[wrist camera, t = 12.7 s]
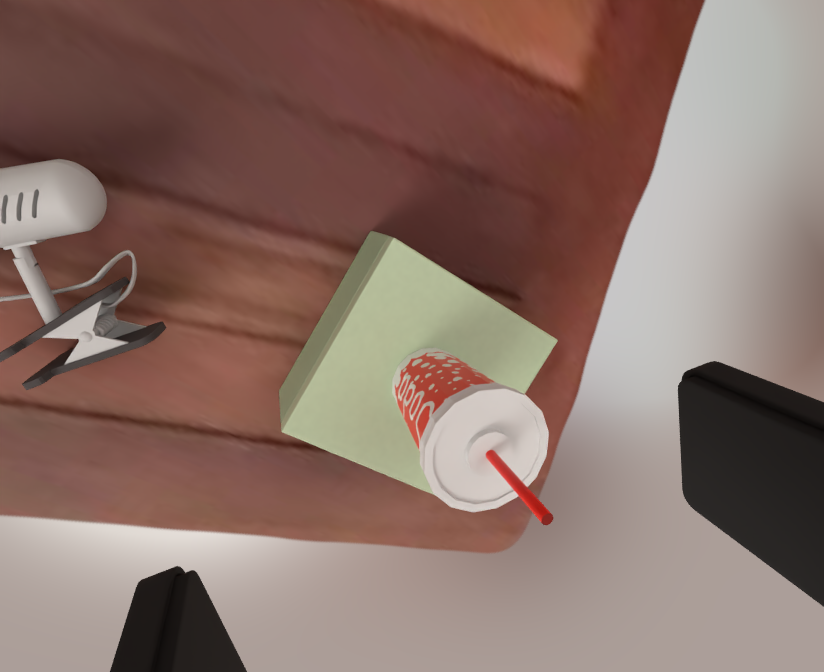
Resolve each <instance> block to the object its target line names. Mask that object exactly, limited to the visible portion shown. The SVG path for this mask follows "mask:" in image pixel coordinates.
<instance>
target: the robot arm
mask: <svg viewBox="0 0 824 672" xmlns="http://www.w3.org/2000/svg"><path fill="white" fill-rule="evenodd" d="M678 401H679V423H680V444H681V466H682V489H683V494H684V497H685V499H686V501H687V502H688V504H689V505H690V506H691V507H692V508H693V509H694V510H695V511H697V512H698V513H699V514H701V515H702V516H703V517H705V518H706V519H708V520H709V521H710V522H711V523H713V524H714V525H716V526H717V527H718V528H720V529H721V530H722V531H723V532H725V533H726V534H728V535H729V536H730V537H731V538H733V539H734V540H736V541H737V542H738V543H740V544H741V545H742V546H743V547H745V548H746V549H748V550H749V551H750V552H752V553H753V554H754V555H756V556H757V557H758V558H760V559H761V560H762V561H763V562H765V563H766V564H767V565H769V566H770V567H772V568H773V569H774V570H776V571H777V572H778V573H779V574H781V575H782V576H783V577H785V578H786V579H788V580H789V581H790V582H792V583H793V584H794V585H796V586H797V587H798V588H800V589H801V590H802V591H804V592H805V593H806V594H808V595H809V596H810V597H812V598H813V599H814V600H816V601H817V602H819V603H820V604H821V605H822V606H824V402H821V401H819V400H816V399H814V398H811V397H808V396H806V395H803V394H801V393H798V392H795V391H793V390H790V389H787V388H785V387H783V386H780V385H777V384H775V383H772V382H770V381H767V380H764V379H762V378H759V377H757V376H754V375H751V374H749V373H746V372H744V371H741V370H738V369H736V368H733V367H731V366H728V365H725V364H723V363H720V362H716V361H713V362H709V363H706V364H703V365H701V366H698V367H696V368H693V369H691V370H688V371H686V372H685V373H684V375H683V376H682V381H681V382H680V383H679V385H678ZM110 672H247V671H246V669H245V667H244V665H243V663H242V661H241V659H240V657H239V655H238V653H237V651H236V649H235V647H234V645H233V643H232V641H231V639H230V637H229V635H228V633H227V631H226V629H225V627H224V625H223V623H222V621H221V619H220V617H219V615H218V613H217V611H216V609H215V607H214V605H213V603H212V601H211V599H210V597H209V595H208V594H207V591H206V589H205V587H204V585H203V583H202V581H201V579H200V577H199V576H198V574H197V573H196V572H195V571H193V570H192V571H189V572H187V573H185V572H184V570H183V569H182V568H181V567H178V566H176V567H174V568H171V569H168V570H166V571H163V572H161V573H158V574H156V575H153V576H150V577H148V578H145V579H142V580H141V581H140V582H139V583H138V585H137V587H136V590H135V593H134V596H133V600H132V603H131V606H130V609H129V612H128V616H127V619H126V622H125V625H124V628H123V632H122V635H121V638H120V641H119V644H118V648H117V651H116V654H115V658H114V661H113V664H112V667H111V670H110Z"/></svg>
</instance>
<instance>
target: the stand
mask: <svg viewBox="0 0 824 672" xmlns="http://www.w3.org/2000/svg"><path fill="white" fill-rule="evenodd" d="M557 341H558V340H557V339H555V338H554V337H552V336H551V335H549V334H547V333H546V332H544V331H543V330H541V329H539V328H538V327H536V326H535V325H533V324H532V323H530V322H528V321H527V320H525V319H524V318H522V317H520V316H519V315H517V314H516V313H514V312H512V311H511V310H509V309H508V308H506V307H504V306H503V305H501V304H500V303H498V302H496V301H495V300H493V299H492V298H490V297H488V296H487V295H485V294H484V293H482V292H480V291H479V290H477V289H476V288H474V287H472V286H471V285H469V284H468V283H466V282H464V281H463V280H461V279H460V278H458V277H457V276H455V275H453V274H452V273H450V272H449V271H447V270H445V269H444V268H442V267H441V266H439V265H437V264H436V263H434V262H433V261H431V260H429V259H428V258H426V257H425V256H423V255H421V254H420V253H418V252H417V251H415V250H413V249H412V248H410V247H409V246H407V245H405V244H404V243H402V242H401V241H399V240H397V239H396V238H394V237H390V236H388V235H384V234H381V233H378V232H375V231H370V233H369V234H368V236H367V238H366V240H365V241H364V243H363V245H362V247H361V248H360V250H359V252H358V254H357V255H356V257H355V259H354V261H353V262H352V264H351V266H350V268H349V269H348V271H347V273H346V275H345V276H344V278H343V280H342V282H341V283H340V285H339V287H338V289H337V290H336V292H335V294H334V296H333V297H332V299H331V301H330V303H329V304H328V306H327V308H326V310H325V311H324V313H323V315H322V317H321V318H320V320H319V322H318V324H317V325H316V327H315V329H314V330H313V332H312V334H311V336H310V337H309V339H308V341H307V343H306V344H305V346H304V348H303V350H302V351H301V353H300V355H299V357H298V358H297V360H296V362H295V364H294V365H293V367H292V369H291V371H290V372H289V374H288V376H287V378H286V379H285V381H284V383H283V385H282V386H281V388H280V390H279V403H280V418H281V430H282V432H283V433H286V434H288V435H290V436H293V437H295V438H298V439H300V440H303V441H305V442H307V443H310V444H312V445H315V446H317V447H319V448H322V449H324V450H327V451H329V452H332V453H334V454H336V455H339V456H341V457H344V458H346V459H349V460H351V461H353V462H356V463H358V464H361V465H363V466H366V467H368V468H370V469H373V470H375V471H378V472H380V473H382V474H385V475H387V476H390V477H392V478H395V479H397V480H399V481H402V482H404V483H407V484H409V485H412V486H414V487H416V488H419V489H421V490H424V491H426V492H429V493H431V494H433V495H435V494H434V493H433V491H432V490H431V487H430V485H429V483H428V481H427V479H426V476H425V474H424V472H423V470H422V467H421V465H420V452H419V450H418V447H417V445H416V443H415V441H414V439H413V437H412V435H411V432H410V430H409V428H408V426H407V424H406V422H405V420H404V418H403V415H402V413H401V411H400V409H399V407H398V405H397V403H396V400H395V398H394V396H393V394H392V379H393V377H394V374H395V372H396V369H397V367H398V365H399V364H400V363H401V362H402V361H403V360H404V359H405V358H406V357H407V356H408V355H409V354H411V353H414V352H416V351H418V350H420V349H423V348H438V349H441V350H444V351H447V352H449V353H451V354H452V355H454V356H455V357H457V358H458V359H460V360H462V361H463V362H465V363H466V364H468V365H469V366H471V367H473V368H474V369H476V370H477V371H479V372H480V373H482V374H484V375H485V376H487V377H488V378H490V379H491V380H493V381H495V382H496V383H499V384H502V385H505V386H507V387H510V388H513V389H516V390H518V391H519V392H520V393H523V394H525V392H526V391H527V389H528V387H529V386H530V384H531V383H532V381H533V379H534V378H535V376H536V375H537V373H538V371H539V370H540V368H541V367H542V365H543V363H544V362H545V360H546V359H547V357H548V355H549V354H550V352H551V351H552V349H553V347H554V346H555V344H556V343H557Z"/></svg>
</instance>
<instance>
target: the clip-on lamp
mask: <svg viewBox="0 0 824 672" xmlns="http://www.w3.org/2000/svg"><path fill="white" fill-rule="evenodd" d="M106 208H107V198H106V193H105V190H104V188H103V186H102V184H101V183H100V181H99V180H98V179H97V177H96V176H95V175H94V174H93V173H92V172H90V171H89V170H88V169H86V168H84V167H83V166H81V165H79V164H78V163H75V162H72V161H68V160H63V159H55V160H49V161H43V162H37V163H31V164H25V165H19V166H13V167H7V168H1V169H0V248H3V249H4V250H7V249H12V251H13V253H14V255H15V257H16V258H14V259H13V261H14V263H15V265H16V267H17V269H18V271H19V273H20V275H21V277H22V279H23V281H24V283H25V285H26V287H27V289H28V291H29V293H30V294H23V295H14V296H6V297H0V302H1V301H9V300H18V299H25V298H32V299H33V301H34V303H35V305H36V306H37V308H38V310H39V312H40V314H41V316H42V318H43V320H44V322H45V324H46V325H45V326H43V327H41V328H39V329H38V330H36V331H34V332H33V333H31V334H30V335H28V336H26V337H25V338H23V339H21V340H20V341H18V342H17V343H15V344H13V345H12V346H10V347H8V348H7V349H5V350H4V351H2V352H0V362H1V361H3V360H5V359H7V358H9V357H10V356H12V355H14V354H16V353H17V352H19V351H20V350H22V349H23V348H25V347H27V346H29V345H30V344H32V343H33V342H35V341H37V340H38V339H40V338H41V337H43V338H67V339H78V340H79V342H78V344H77V345H76V347H75V348H74V349H71V350H69V351H67V352H65V353H63V354H61V355H60V356H58V357H57V358H56V359H54V360H53V361H52V362H50V363H49V364H48V365H46V366H45V367H44V368H42V369H41V370H40V371H38V372H37V373H36V374H34V375H33V376H32V377H30V378H29V379H28V380H26V381H25V382H24V383H22V385H23V386H24V387H25V389H26V390H29V389H31V388H34V387H36V386H39V385H41V384H43V383H45V382H47V381H48V380H49V379H51V378H52V377H53V376H55V375H58V374H61V373H64V372H67V371H70V370H73V369H76V368H79V367H82V366H85V365H88V364H91V363H94V362H97V361H100V360H103V359H106V358H109V357H112V356H115V355H117V354H120V353H123V352H126V351H129V350H132V349H135V348H138V347H141V346H144V345H146V344H148V343H150V342H151V341H153V340H154V339H156V338H157V337H158V336H159V335H160V334H161V333H162V332H163V331H164V330H165V329H166V326H165V325H164V323H163V322H158V323H155V324H152V325H149V326H143V325H139V324H135V323H130V322H126V321H122V320H117V319H116V316H115V315H114V313H115V310H116V307H117V304H119V303H120V302H121V301H122V300H124V299H125V298H126V297H127V296H128V295H129V294H130V293H131V291H132V289H133V288H134V285H135V282H136V276H137V264H136V259H135V256H134V254H133V253H132V252H131V251H130V250H125V251H122V252H121V253H119V254H118V255H116V256H115V257H114V258H112V259H111V260H110V261H109V262H108V263H107V264H106V265H105V266H104V267H103V268H102V269H101V270H100V271H99V272H98V273H97V274H96V275H95V276H94V277H93V278H92V279H90V280H89V281H87V282H84V283H81V284H78V285H74V286H70V287H66V288H61V289H56V290H51V289H50V287H49V285H48V283H47V281H46V279H45V277H44V275H43V273H42V271H41V269H40V267H39V265H38V263H37V261H36V259H35V257H34V254H33V252H32V250H31V248H30V246H29V245H32V244H37V243H40V242H43V241H46V239H49V238H54V237H59V236H65V235H70V234H75V233H80V232H85V231H90V230H91V229H93V228H94V227H95V226H97V225H98V224H99V223H100V222H101V220H102V219H103V217H104V215H105V212H106ZM126 255H130V256H131V258H132V264H133V266H132V276H131V280H130V282H129V280H128V279H127V278H126V277H124V278H122V279H120V280H118V281H116V282H115V283H113V284H111V285H109V286H107V287H106V288H104V289H102V290H100V291H99V292H97V293H95V294H93V295H92V296H90V297H88V298H86V299H85V300H83V301H82V302H80V303H78V304H77V305H75V306H74V307H72V308H71V309H69V310H68V311H66V312H65V313H63V314H62V312H61V310H60V308H59V306H58V304H57V302H56V300H55V298H54V296H53V294H58V293H63V292H68V291H72V290H76V289H80V288H84V287H87V286H90V285H92V284H95V283H97V282H98V281H100V280H101V279H102V278H103V277H104V276H105V274H106V273H107V272H108V271H109V270H110V269H111V267H112V266H113V265H114V264H115V263H116V262H117V261H119V260H120V259H121V258H122V257H124V256H126ZM127 284H129V286H128V287H127V289H126V290H125V292H124V293H123V294H122V295H121V296H120V294H121V291H122V288H123V287H124V286H126V285H127Z"/></svg>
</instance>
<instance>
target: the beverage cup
mask: <svg viewBox="0 0 824 672" xmlns="http://www.w3.org/2000/svg"><path fill="white" fill-rule="evenodd" d="M392 394H393V396H394V398H395V400H396V403H397V405H398V407H399V409H400V411H401V413H402V415H403V418H404V420H405V422H406V424H407V426H408V428H409V430H410V432H411V435H412V437H413V439H414V441H415V443H416V445H417V447H418V450H419V452H420V465H421V467H422V470H423V472H424V474H425V476H426V479H427V481H428V483H429V485H430V487H431V490H432V491H433V493H434V494H435V495H436V496H437V497H439V498H440V499H441V500H442V501H444V502H445V503H446V504H448V505H449V506H450V507H452V508H457V509H461V510H466V511H470V512H477V511H483V510H489V509H495V508H498V507H500V506H502V505H503V504H505V503H507V502H509V501H511V500H512V499H514V498H516V497H518V496H519V497H520V498H521V499H522V500H523V501H524V503H525V504H526V505H527V506H528V507H529V509H530V510H531V511H532V512H533V513H534V514H535V516H536V517H537V518H538V519H539V520H540V521H541V523H542V524H543V525H548V524H550V523H551V522H552V520H553V515H552V514H551V513H550V512H549V511H548V510H547V509H546V508H545V507H544V505H543V504H542V503H541V502H540V501H539V500H538V499H537V497H536V496H535V495H534V494H533V493H532V492H531V491H530V490H529V489H528V488H527V487H528V486H529V485H530V484H531V483H532V482H533V480H534V479H535V478H536V477H537V475H538V472H539V470H540V468H541V466H542V464H543V462H544V460H545V458H546V456H547V445H548V435H549V432H548V429H547V426H546V423H545V419H544V416H543V413H542V411H541V410H540V409H539V408H538V407H537V406H536V405H535V404H534V403H533V402H532V401H531V400H530V399H529V398H528V397H527V396H526V395H525V394H523V393H520V392H519V391H518V390H516V389H513V388H510V387H507V386H505V385H502V384H499V383H496V382H495V381H493V380H491V379H490V378H488V377H487V376H485V375H484V374H482V373H480V372H479V371H477V370H476V369H474V368H473V367H471V366H469V365H468V364H466V363H465V362H463V361H462V360H460V359H458V358H457V357H455V356H454V355H452V354H451V353H449V352H447V351H444V350H441V349H438V348H423V349H420V350H418V351H416V352H414V353H411V354H409V355H408V356H407V357H406V358H405V359H404V360H403V361H402V362H401V363H400V364H399V365H398V367H397V369H396V372H395V374H394V377H393V379H392Z"/></svg>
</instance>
